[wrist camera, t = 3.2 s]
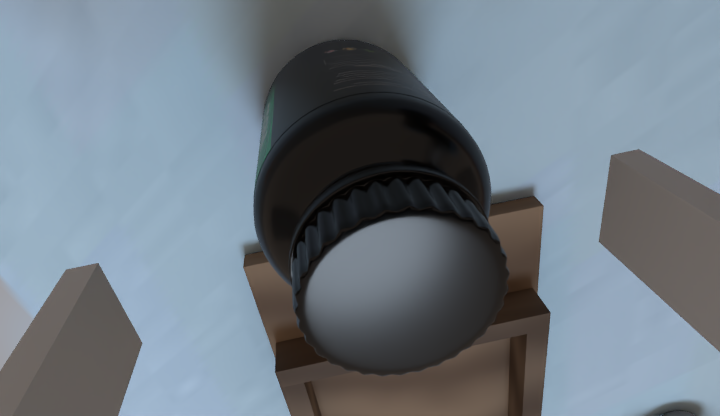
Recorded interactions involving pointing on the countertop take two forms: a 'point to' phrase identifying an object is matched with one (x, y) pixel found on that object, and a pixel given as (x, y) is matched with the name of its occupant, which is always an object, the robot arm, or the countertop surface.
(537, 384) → the framed wooden board
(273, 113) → the supplement bottle
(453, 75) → the countertop surface
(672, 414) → the ceramic mug
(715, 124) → the countertop surface
